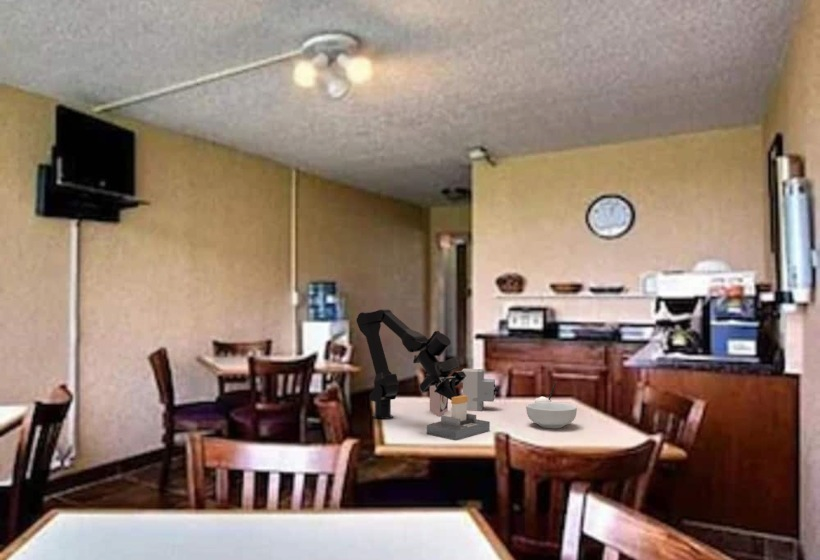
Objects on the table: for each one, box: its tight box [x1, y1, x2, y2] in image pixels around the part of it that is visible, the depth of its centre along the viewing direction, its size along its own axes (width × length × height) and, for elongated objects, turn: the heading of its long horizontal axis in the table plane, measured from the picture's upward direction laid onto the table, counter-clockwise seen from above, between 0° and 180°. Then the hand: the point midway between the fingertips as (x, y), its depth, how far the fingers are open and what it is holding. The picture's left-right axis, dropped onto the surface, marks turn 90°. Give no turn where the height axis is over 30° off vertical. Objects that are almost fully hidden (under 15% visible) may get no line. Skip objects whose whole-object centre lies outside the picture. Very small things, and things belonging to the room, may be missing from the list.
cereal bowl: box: [525, 401, 577, 430], centre depth 232 cm, size 17×17×7 cm
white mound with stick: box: [534, 381, 557, 403], centre depth 253 cm, size 10×6×12 cm, turn 58°
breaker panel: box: [426, 412, 491, 441], centre depth 222 cm, size 12×18×6 cm, turn 138°
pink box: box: [429, 386, 449, 418], centre depth 252 cm, size 11×7×15 cm, turn 161°
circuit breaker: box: [460, 368, 500, 412], centre depth 261 cm, size 8×14×15 cm, turn 78°
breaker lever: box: [450, 394, 468, 422], centre depth 221 cm, size 2×6×8 cm, turn 138°
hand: (457, 401), depth 222 cm, fingers closed, pressing on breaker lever
